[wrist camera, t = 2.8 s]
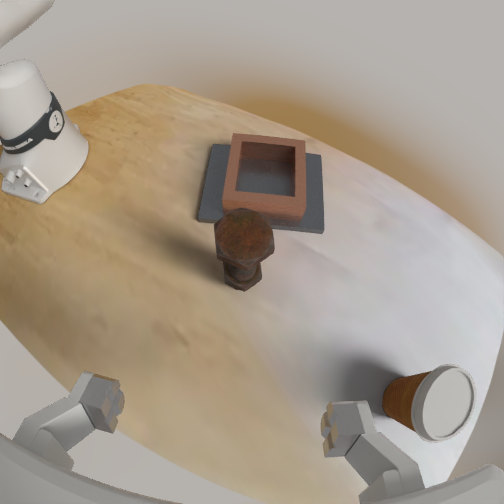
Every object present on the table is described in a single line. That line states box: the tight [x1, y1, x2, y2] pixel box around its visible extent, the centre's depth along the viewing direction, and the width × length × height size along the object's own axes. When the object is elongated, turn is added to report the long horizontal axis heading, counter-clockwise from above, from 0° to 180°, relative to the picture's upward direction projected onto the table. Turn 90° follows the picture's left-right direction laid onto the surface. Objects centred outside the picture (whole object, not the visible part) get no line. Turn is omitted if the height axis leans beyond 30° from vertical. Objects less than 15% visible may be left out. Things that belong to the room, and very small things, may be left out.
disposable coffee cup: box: [382, 364, 476, 443], centre depth 29 cm, size 10×10×12 cm
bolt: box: [214, 208, 275, 291], centre depth 33 cm, size 6×5×15 cm
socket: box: [198, 133, 324, 234], centre depth 43 cm, size 18×14×5 cm
